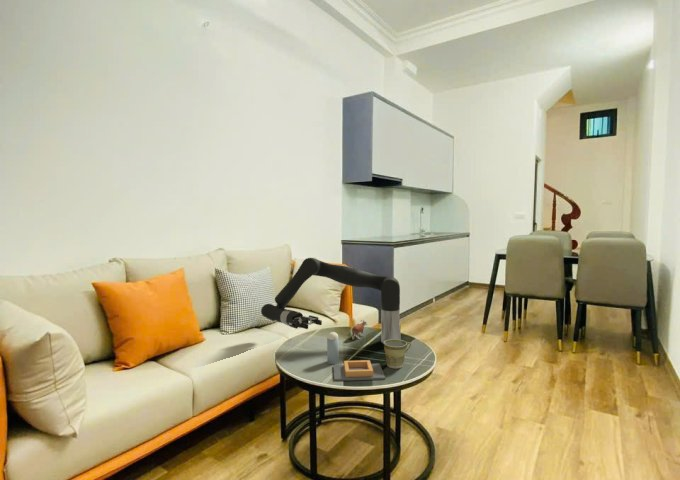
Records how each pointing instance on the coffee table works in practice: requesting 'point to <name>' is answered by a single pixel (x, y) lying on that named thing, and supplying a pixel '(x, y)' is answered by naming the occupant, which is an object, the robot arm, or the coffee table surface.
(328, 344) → the pale grey cylinder
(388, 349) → the ceramic cup
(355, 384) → the coffee table surface
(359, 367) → the jig
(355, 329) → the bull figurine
